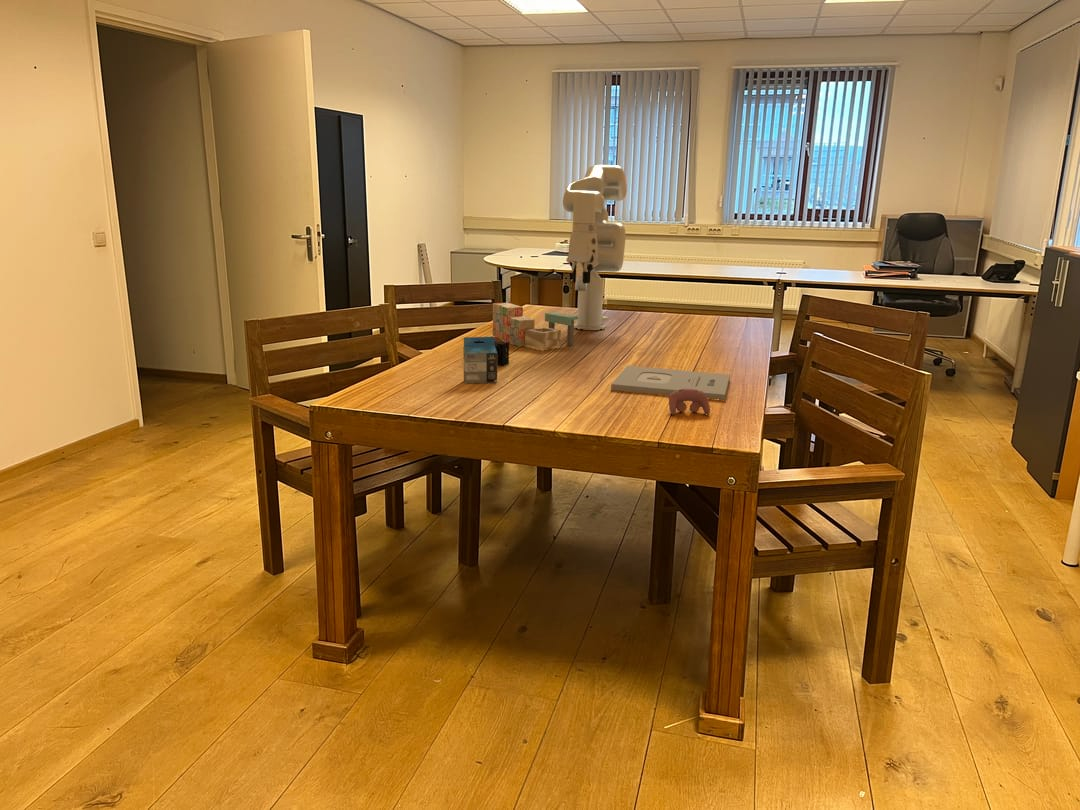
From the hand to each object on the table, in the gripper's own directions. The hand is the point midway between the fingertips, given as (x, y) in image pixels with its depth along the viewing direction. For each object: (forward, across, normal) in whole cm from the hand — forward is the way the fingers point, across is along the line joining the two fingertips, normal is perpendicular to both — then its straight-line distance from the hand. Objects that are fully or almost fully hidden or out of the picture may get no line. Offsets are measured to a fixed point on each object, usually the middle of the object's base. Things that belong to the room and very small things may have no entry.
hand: (581, 281), depth 272 cm
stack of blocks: (+21, +15, +19) cm, 32 cm away
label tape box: (+21, -23, +67) cm, 74 cm away
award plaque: (+21, -60, +28) cm, 70 cm away
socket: (+21, 0, +19) cm, 28 cm away
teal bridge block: (+21, +1, +8) cm, 22 cm away
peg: (+3, 0, 0) cm, 3 cm away
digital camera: (+21, -8, +50) cm, 54 cm away
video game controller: (+21, -79, +49) cm, 95 cm away
